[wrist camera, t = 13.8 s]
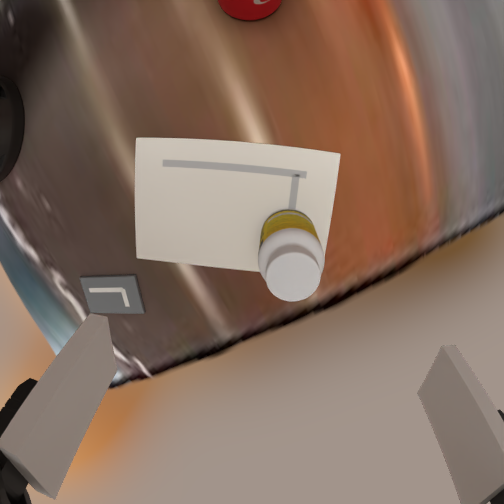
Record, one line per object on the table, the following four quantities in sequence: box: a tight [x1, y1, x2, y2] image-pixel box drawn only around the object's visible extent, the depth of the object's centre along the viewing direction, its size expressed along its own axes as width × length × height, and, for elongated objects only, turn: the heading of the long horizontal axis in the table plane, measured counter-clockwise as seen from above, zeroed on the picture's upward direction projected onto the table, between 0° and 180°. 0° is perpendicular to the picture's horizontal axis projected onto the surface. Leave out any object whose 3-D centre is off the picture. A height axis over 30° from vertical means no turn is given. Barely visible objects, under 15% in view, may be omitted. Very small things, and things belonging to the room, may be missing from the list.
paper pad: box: [135, 138, 340, 272], centre depth 31 cm, size 20×13×1 cm, turn 85°
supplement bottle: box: [258, 209, 325, 301], centre depth 27 cm, size 5×5×10 cm
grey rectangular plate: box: [80, 274, 145, 314], centre depth 36 cm, size 8×5×1 cm, turn 95°
